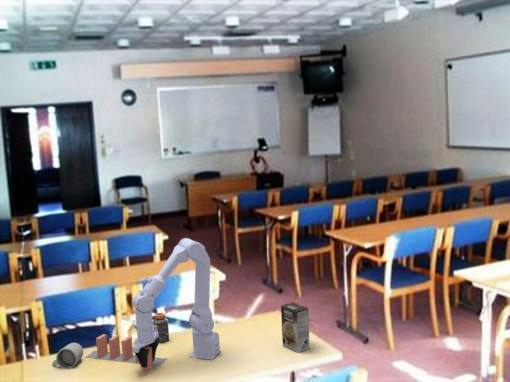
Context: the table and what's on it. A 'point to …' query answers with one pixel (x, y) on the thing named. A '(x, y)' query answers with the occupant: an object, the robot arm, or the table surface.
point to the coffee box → (295, 327)
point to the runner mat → (120, 358)
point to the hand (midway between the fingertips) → (147, 364)
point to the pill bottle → (161, 327)
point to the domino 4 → (149, 360)
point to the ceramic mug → (69, 355)
